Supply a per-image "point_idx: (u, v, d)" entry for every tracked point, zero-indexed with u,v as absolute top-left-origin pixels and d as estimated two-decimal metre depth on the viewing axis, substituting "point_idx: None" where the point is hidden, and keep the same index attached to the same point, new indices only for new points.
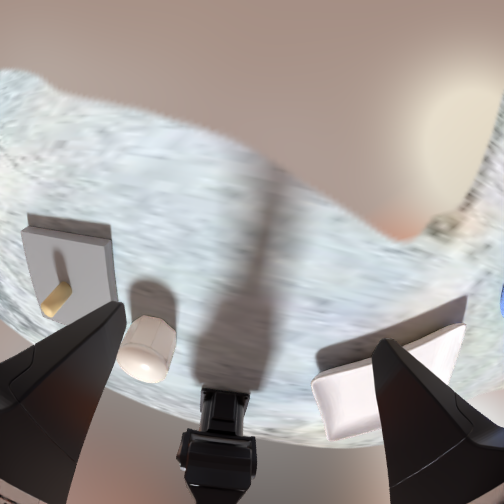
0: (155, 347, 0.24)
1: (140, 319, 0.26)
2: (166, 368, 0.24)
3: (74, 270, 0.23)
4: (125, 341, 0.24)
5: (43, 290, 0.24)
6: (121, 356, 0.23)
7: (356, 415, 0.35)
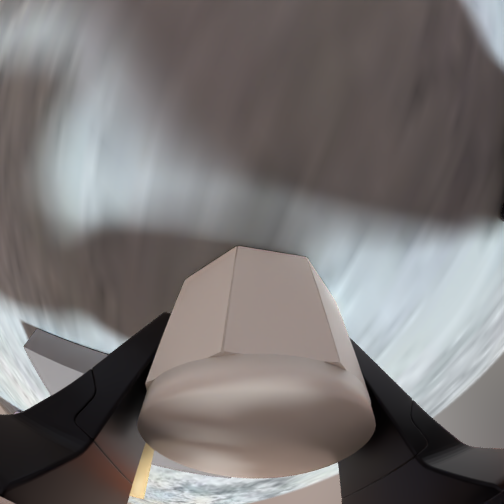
0: (163, 364, 0.05)
1: None
2: (264, 378, 0.04)
3: None
4: None
5: (168, 462, 0.14)
6: (211, 469, 0.06)
7: None
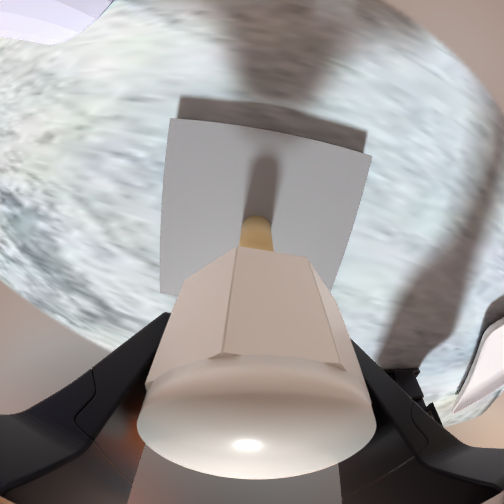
0: (163, 365, 0.05)
1: None
2: (264, 379, 0.04)
3: (295, 193, 0.16)
4: None
5: (189, 239, 0.17)
6: (211, 470, 0.06)
7: (477, 381, 0.28)
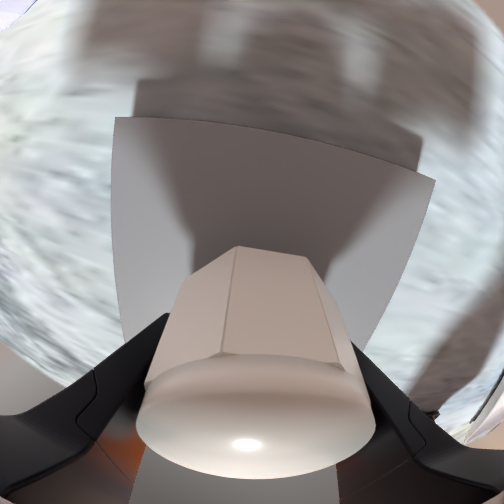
0: (162, 365, 0.05)
1: None
2: (263, 378, 0.04)
3: (319, 238, 0.10)
4: None
5: (156, 301, 0.11)
6: (211, 470, 0.06)
7: (492, 410, 0.22)
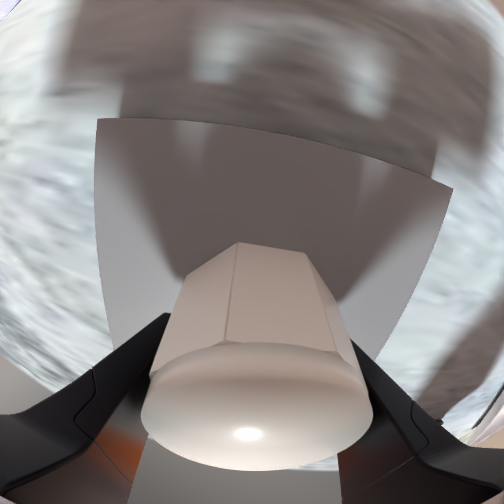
0: (167, 355, 0.05)
1: None
2: (264, 365, 0.04)
3: (327, 254, 0.09)
4: None
5: (147, 320, 0.10)
6: (213, 461, 0.06)
7: None
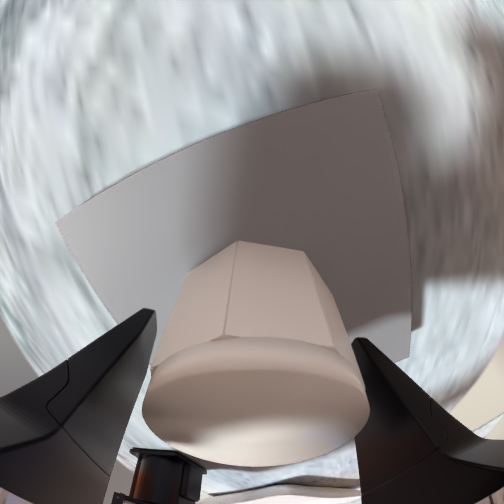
0: (168, 350, 0.06)
1: None
2: (262, 358, 0.04)
3: None
4: None
5: (172, 222, 0.08)
6: (212, 456, 0.06)
7: None
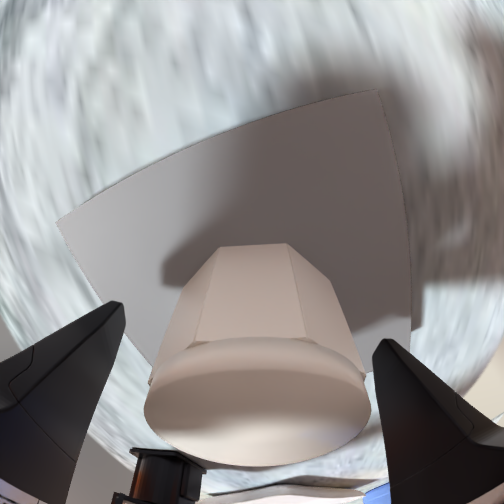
0: None
1: None
2: (151, 387, 0.05)
3: None
4: None
5: (172, 222, 0.08)
6: (287, 459, 0.06)
7: None
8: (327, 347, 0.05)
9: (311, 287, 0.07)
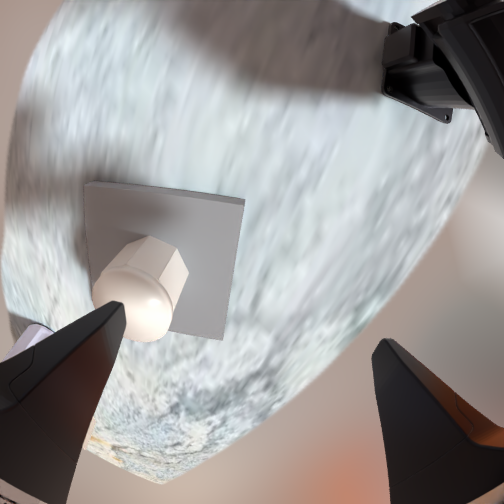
0: None
1: (171, 250, 0.18)
2: None
3: (121, 242, 0.19)
4: (143, 265, 0.15)
5: None
6: (123, 280, 0.14)
7: None
8: None
9: None
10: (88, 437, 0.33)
